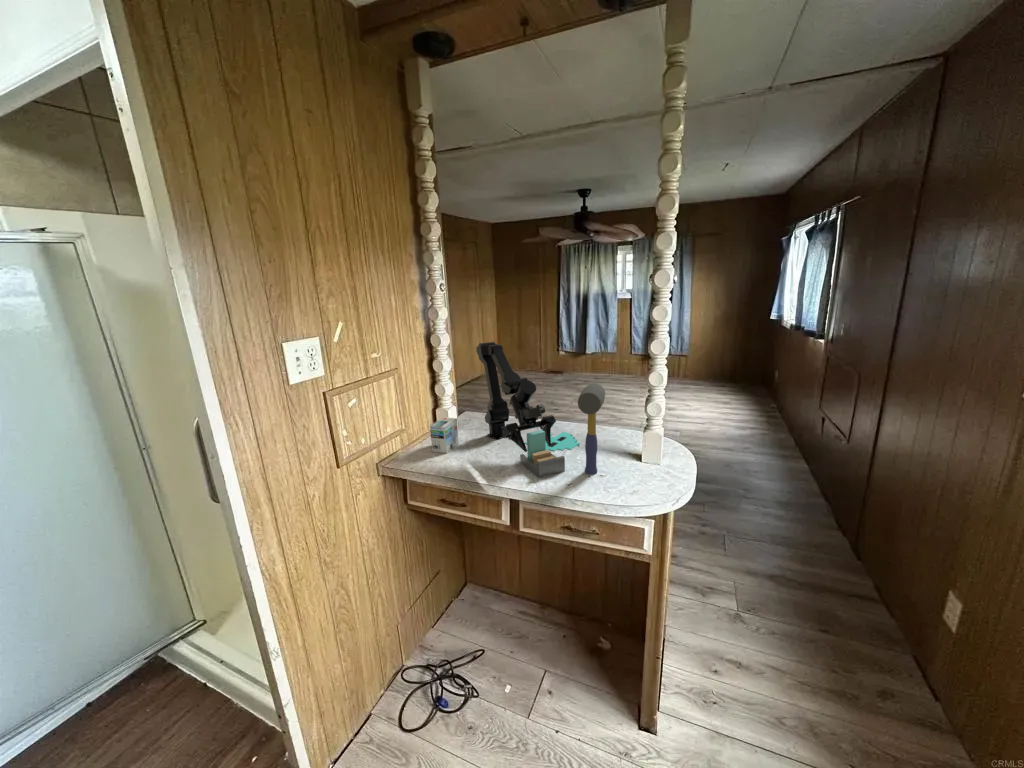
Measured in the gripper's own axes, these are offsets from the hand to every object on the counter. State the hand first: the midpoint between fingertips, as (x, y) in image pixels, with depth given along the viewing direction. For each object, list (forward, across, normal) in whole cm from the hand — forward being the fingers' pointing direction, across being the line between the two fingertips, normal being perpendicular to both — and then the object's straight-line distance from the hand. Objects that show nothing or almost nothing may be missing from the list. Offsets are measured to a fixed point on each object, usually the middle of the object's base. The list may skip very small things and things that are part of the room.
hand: (538, 448), depth 132 cm
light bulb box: (-19, -22, +30) cm, 42 cm away
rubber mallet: (+15, +12, -4) cm, 19 cm away
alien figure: (-5, +14, +16) cm, 22 cm away
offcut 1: (+6, 0, +3) cm, 6 cm away
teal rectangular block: (+3, 0, +5) cm, 6 cm away
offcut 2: (+8, 0, 0) cm, 8 cm away
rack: (+6, 0, +4) cm, 7 cm away
